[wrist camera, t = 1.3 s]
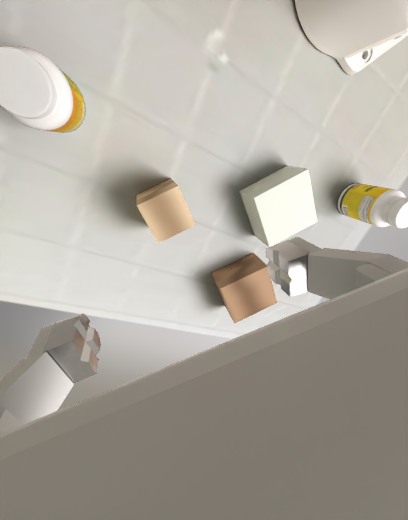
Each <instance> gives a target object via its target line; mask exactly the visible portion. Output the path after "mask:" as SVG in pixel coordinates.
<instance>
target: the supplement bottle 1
mask: <svg viewBox="0 0 408 520" xmlns="http://www.w3.org/2000/svg"><path fill="white" fill-rule="evenodd" d="M0 105H1V106H2V107H3V108H5V109H6V110H7V111H8V113H9V114H11V115H12V116H13V117H14V118H15V119H17V120H18V121H19V122H21V123H23V124H25V125H27V126H29V127H32V128H35V129H39V130H45V131H54V132H62V133H66V132H72V131H74V130H76V129H78V128H79V127H80V126H81V125H82V123H83V122H84V119H85V116H86V105H85V100H84V98H83V95H82V93H81V91H80V90H79V88H78V87H77V86H76V84H75V83H74V82H73V81H72V80H71V79H70V78H69V77H68V76H67V75H66V74H65V73H64V72H62V71H61V70H60V69H59V68H58V67H57V66H56V65H55V64H54V63H53V62H52V61H51V60H50V59H48V58H47V57H46V56H44V55H43V54H41V53H39V52H37V51H35V50H33V49H30V48H26V47H8V46H1V47H0Z"/></svg>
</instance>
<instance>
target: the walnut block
mask: <svg viewBox="0 0 408 520" xmlns="http://www.w3.org/2000/svg"><path fill="white" fill-rule="evenodd" d="M211 274H212V276H213V278H214V281H215V283H216V286H217V288H218V290H219V293H220V295H221V297H222V300H223V302H224V305H225V307H226V308H227V310H228V312H229V314H230V316H231V318H232V319H233V321H234V323H236V322H238V321H241V320H243V319H245V318H247V317H249V316H251V315H253V314H255V313H257V312H259V311H261V310H263V309H265V308H267V307H269V306H271V305H273V304H275V303H277V301H276V297H275V293H274V289H273V285H272V281H271V278H270V275H269V273H268V269H267V265H266V264H265V263H264V262H263V261H262V260H261V259H260V258H258V257H257V256H256V255H255V254H254V253H253V254H251V255H248V256H246V257H244V258H242V259H240V260H238V261H236V262H234V263H231V264H229V265H227V266H225V267H223V268H221V269H219V270H217V271H214V272H212V273H211Z"/></svg>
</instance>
